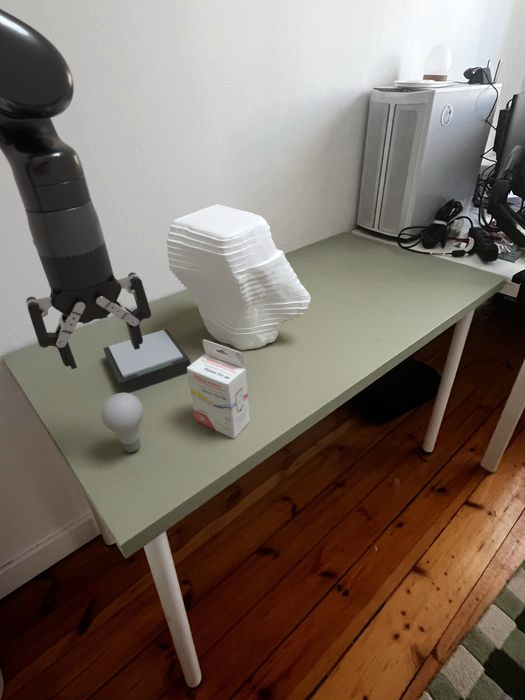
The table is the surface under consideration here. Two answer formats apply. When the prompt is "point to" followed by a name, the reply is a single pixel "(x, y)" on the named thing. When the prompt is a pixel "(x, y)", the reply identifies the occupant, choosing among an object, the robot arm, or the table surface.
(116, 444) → the table surface
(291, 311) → the white layered head sculpture
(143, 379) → the scale
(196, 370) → the ink cartridge box
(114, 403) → the lightbulb
